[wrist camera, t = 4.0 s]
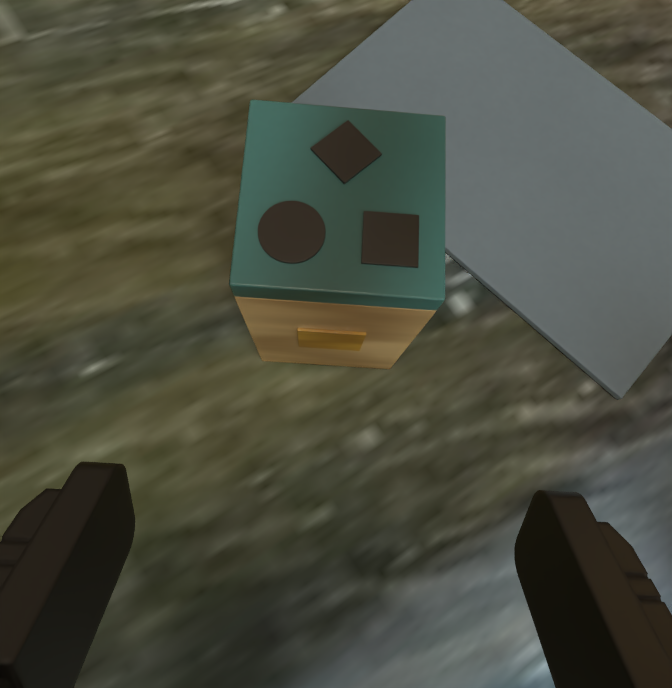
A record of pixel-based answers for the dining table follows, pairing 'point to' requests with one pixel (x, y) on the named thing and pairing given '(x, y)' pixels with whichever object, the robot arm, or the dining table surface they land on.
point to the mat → (534, 174)
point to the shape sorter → (339, 232)
